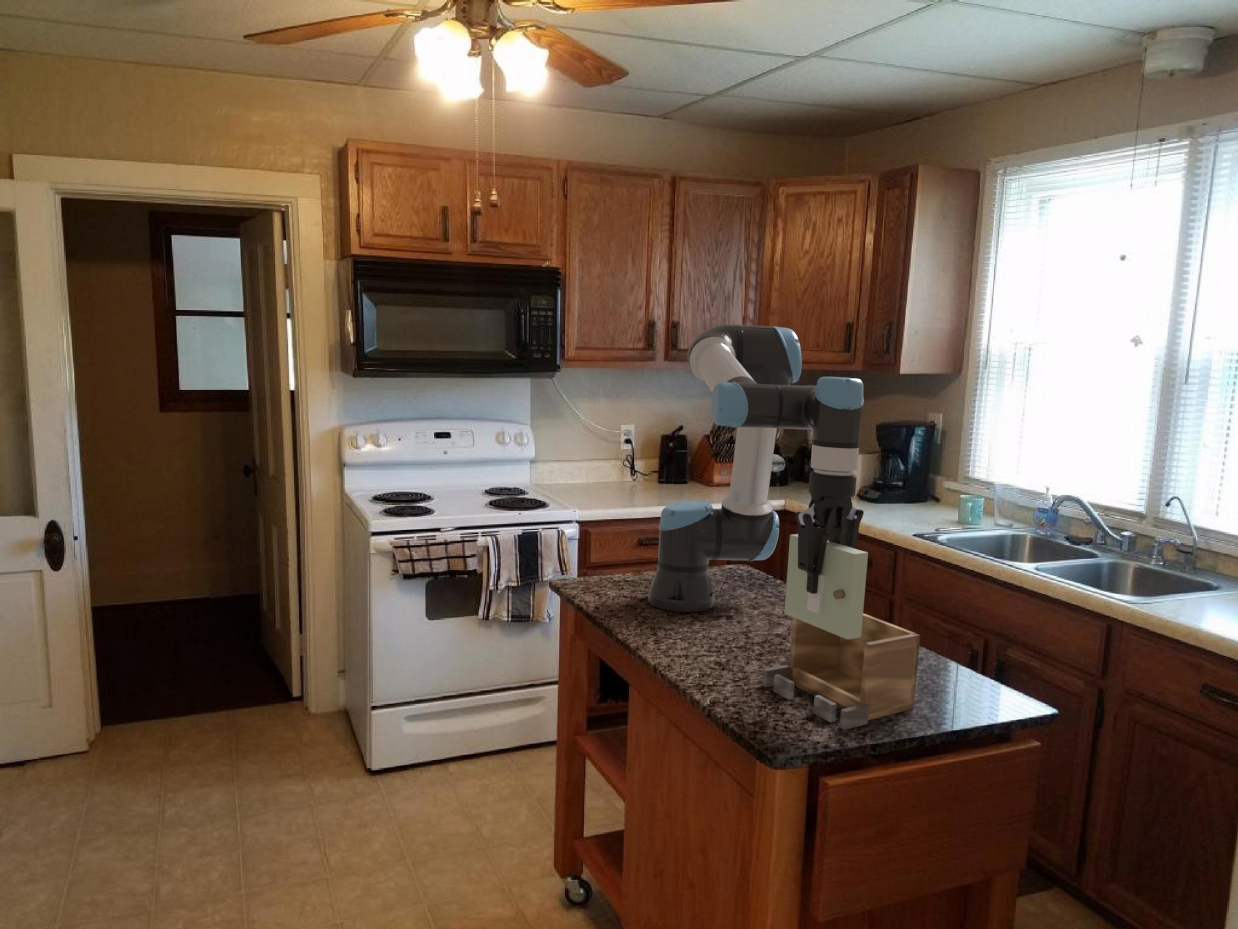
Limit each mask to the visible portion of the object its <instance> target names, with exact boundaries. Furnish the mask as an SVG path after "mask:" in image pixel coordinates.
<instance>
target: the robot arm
mask: <svg viewBox="0 0 1238 929" xmlns="http://www.w3.org/2000/svg"><path fill="white" fill-rule="evenodd" d="M801 350H802V349H801V344H800V341H799V338H798V335H797V334H796V333H795V331H794V330H793V329H790V328H788V327H782V326H781V327H780V326H774V325H750V324H749V325H747V324H746V325H744V324H742V325H740V324H737V325H736V324H726V323H725V324H719V325H715V326H712V327H710V328H708V329H705V330H704V331H702V332H701V333H699V334H698V335H697V336H696V337H695V338H694V339H693V340H692V342H691V344H690V345H689V348H688V351H687V364H688V366H689V369H690V370H691V373H693V375H694V376H695V377H696V378H697V379H699V381H702V382H705V384H706V386H707V387H708V388H709V390H710V392H711V393H712V394H711V400H710V402H711V404H710V408H711V409H710V412H711V417H712V418H711V419H712V421H713V422H714V424H715V425H717V426H721V427H731V428H735V429H736V437H735V444H734V454H733V462H732V463H733V464H732V471H731V479H730V488H729V494H728V495H727V496H725V497H724V498H723V499H722V500H721V508H713V505H712V503H710V502H708V501H702V500H701V501H700V500H699V501H698V500H689V501H687V500H686V501H680V502H674V503H671V504H668V505H666V506H665V507H663V509H662V510H661V514H660V518H659V519H660V520H659V526H658V530H659V536H658V554H657V555H658V556H657V567H656V569H657V570H656V572H655V573H654V574H655V575H654V577H653V579H652V582H651V586H650V588H649V589H648V597H647V598H648V603H649V604H650V605H652V607H655V608H658V609H660V610H665V611H669V612H678V613H680V612H681V613H697V612H704V611H709V610H710V609H712V608H713V607H714V604H715V603H714V602H715V594H714V589H713V586H712V582H711V579H710V575H709V563H710V562H709V561H710V560H711V561H712V560H713V561H714V560H717V561H720V560H721V561H747V562H753V561H764V560H767V559H768V558H770V557H771V555H772V554H773V553H774V552H775V549H776V546H777V543H778V539H779V535H780V528H779V527H780V518H779V515H778V513H777V512H776V511H774V505H773V504H772V502H770V501H769V499H768V496H769V490H770V483H771V482H770V481H771V476H772V474H771V473H772V465H773V457H774V450H775V444H776V435H777V429H785V430H786V429H787V430H788V429H789V430H791V429H792V430H810V431H811V430H812V441H811V442H812V445H811V446H812V447H811V454H810V455H811V458H810V468H812V469H813V470H811V472H809V481H808V492H809V494H810V497H811V499H810V501H809V504H808V508H807V509H805V510H804V511H796V513H795V516H794V517H795V520H796V523H797V534H798V568H799V569H801V570H804V571H806V572H807V586H806V590H807V592H808V602H807V610H809V611H812V612H814V613H817V614H822V602H823V590H824V577H825V575H822V574H821V570H822V565H823V560H824V555H825V549H826V544H827V541H830V542H834V543H837V544H841V545H844V546H847V547H851V548H854V549H857V544H858V537H859V530H860V525H861V522H862V520H863V517H864V510H863V509H859V508H856V507H854V505H853V500H852V498H854V497H855V495H856V492H857V489H856V488H857V478H858V477H857V475H856V474H855V473H856V472H858V469H859V468H858V467H859V456H860V453H859V452H860V440H861V430H862V418H863V408H864V403H865V399H864V383H863V381H862V380H861V379H860V378H856V377H855V378H854V377H853V378H852V377H842V376H841V377H840V376H821V377H819V378H818V379H817V381H816V384H815V385H814V384H808V385H795V384H794V383H797V382H798V381H799V380H800V376H801V374H802V366H803V365H802V364H803V363H802V361H803V360H802V351H801ZM791 384H792V385H791ZM828 538H829V539H828ZM814 566H815V567H814Z"/></svg>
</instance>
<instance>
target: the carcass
mask: <svg viewBox="0 0 1238 929" xmlns="http://www.w3.org/2000/svg"><path fill="white" fill-rule="evenodd" d="M790 641H791V642H790V655H789V656H790V657H789V665H787V664H784V665H779V666H773V667H770V668H769V667H768V668H764V669H763V671H762V672H763V673H762V684H761V685H762V686H763V687H765V688H771V687H773V691H772V692H774V693H775V694H777V695H779V696H781V697H782V698H785V699H786V700H788V701H790V700H793V699H794V694H795V688H797V689H800V690H801V691H804V692H805V693H807V694H810V695H811V696H813V697H814V701H813V714H814V715H815V716H818V717H819V718H822V719H823V720H824V721H827V722H829V723H833V722H836V716H837V709H838V710H840V719H839V729H842V730H845V731H846V730H849V729H853V728H858V727H861V726H864V725H865V726H866V725H868V722H869V721H870V720H874V719H878V718H881V717H886V716H889V715H893V714H898V713H902V712H906V711H910V710H913V709H914V704H915V694H916V685H917V673H918V666H919V665H918V662H919V654H920V653H919V652H920V645H921V644H920V643H921V642H920V641H921V634H919V633H916V632H914V631H911V630H908V629H907V628H906V629H905V628H903V627H900V626H898V625H895V624H893V623H890V622H887V621H885V620H882V619H879V618H877V617H874V616H871V615H869V614H867V613H864V612H863V619H862V631H861V637H860V638H854V639H849V640H847V639H845V638H842V637H840V636H837V635H835V634H833V633H830V632H828V631H825V630H823V629H821V628H818V627H816V626H813V625H811V624H809V623H806V622H804V621H801V620H799V619H796V618H794V617H792V628H791V640H790Z"/></svg>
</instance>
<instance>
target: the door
mask: <svg viewBox="0 0 1238 929" xmlns="http://www.w3.org/2000/svg"><path fill="white" fill-rule="evenodd" d="M788 547H789V548H788V560H787V561H788V562H787V572H786V573H787V574H786V585H785V586H786V588H785V602H784V611H783V612H784V614H785V615H787V616H789V617H792V618H793V617H794V618H796V619H799V620H801V621H804V622H806V623H809V624H811V625H813V626H816V627H818V628H821V629H823V630H825V631H828V632H830V633H833V634H835V635H837V636H840V637H842V638H845V639H847V640H849V639H854V638H860V637H861V631H862V619H863V613H864V605H865V593H866V583H867V582H866V581H867V571H868V558H869V557H868V556H869V552H868V551H864V550H860V549H857V548H856V549H854V548H851V547H847V546H844V545H841V544H837V543H834V542H830V541H829V540H827V544H826V549H825V555H824V560H823V565H822V570H821V574H822V575H825V577H824V590H823V602H822V614H817V613H814V612H812V611H809V610H807V602H808V592H807V590H806V586H807V572H806V571H804V570H801V569H799V568H798V533H796V534H794V533H793V534H789V546H788ZM814 567H815V566H814Z"/></svg>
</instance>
